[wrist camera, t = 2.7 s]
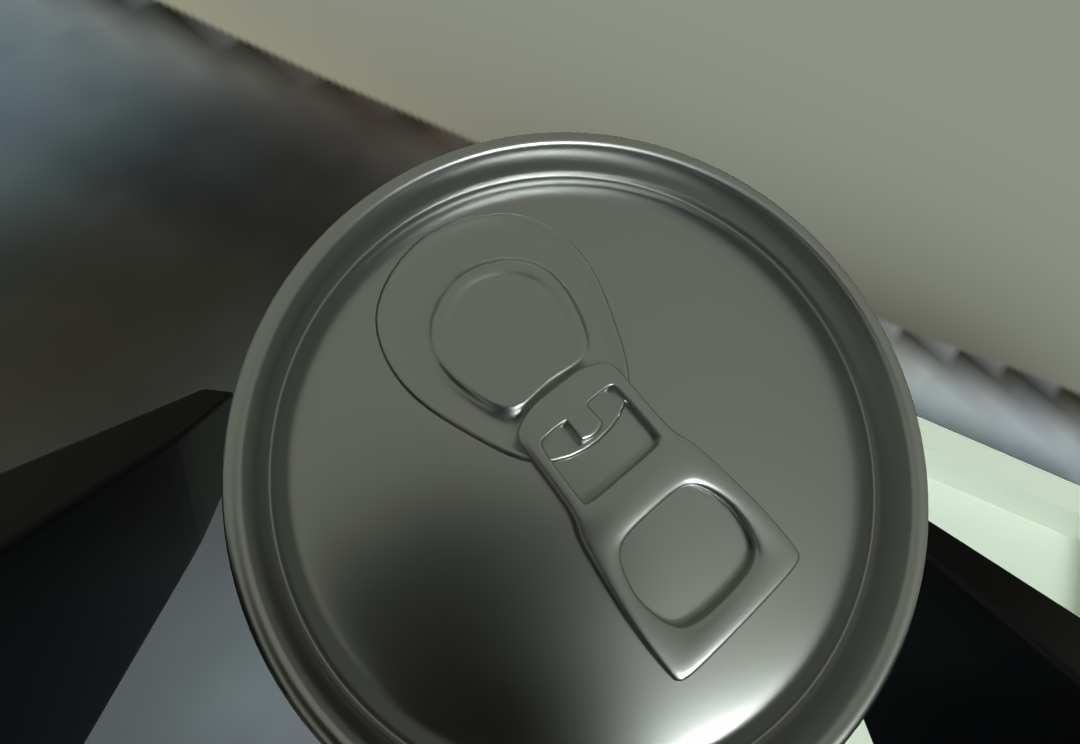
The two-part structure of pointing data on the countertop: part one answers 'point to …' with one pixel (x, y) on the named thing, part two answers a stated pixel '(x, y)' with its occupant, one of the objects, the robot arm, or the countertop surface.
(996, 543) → the tray
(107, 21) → the countertop surface
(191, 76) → the countertop surface
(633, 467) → the can
